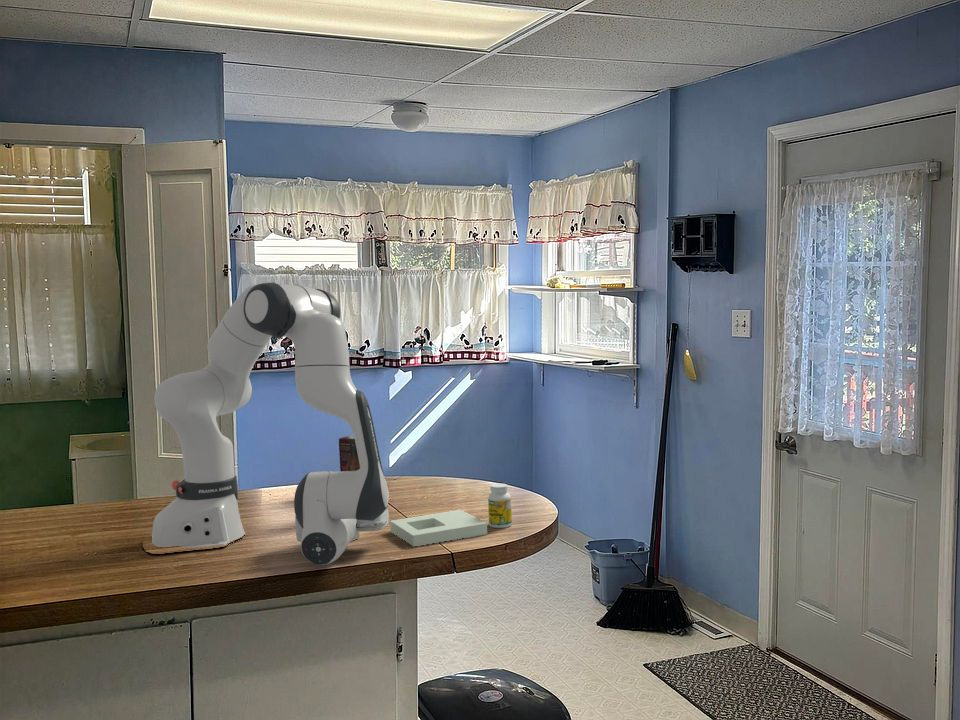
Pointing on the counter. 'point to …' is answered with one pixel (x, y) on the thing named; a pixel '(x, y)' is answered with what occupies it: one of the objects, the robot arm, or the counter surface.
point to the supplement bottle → (499, 506)
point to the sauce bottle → (353, 456)
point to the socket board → (438, 527)
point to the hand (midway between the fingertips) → (348, 509)
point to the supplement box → (344, 452)
